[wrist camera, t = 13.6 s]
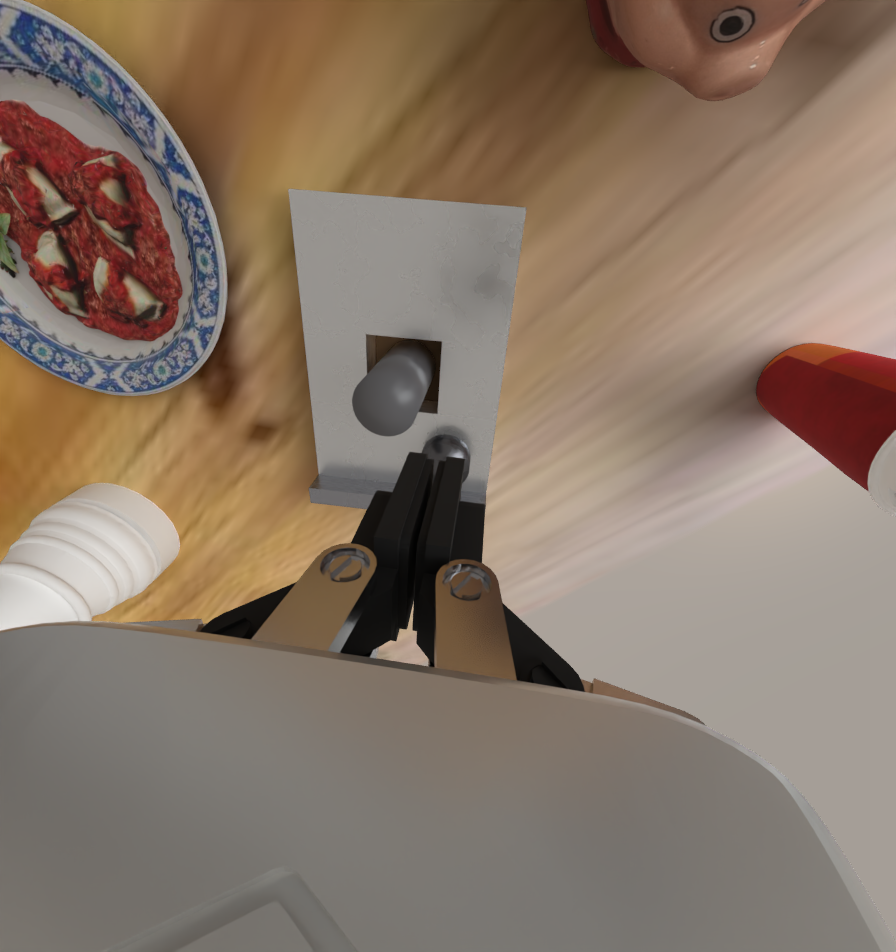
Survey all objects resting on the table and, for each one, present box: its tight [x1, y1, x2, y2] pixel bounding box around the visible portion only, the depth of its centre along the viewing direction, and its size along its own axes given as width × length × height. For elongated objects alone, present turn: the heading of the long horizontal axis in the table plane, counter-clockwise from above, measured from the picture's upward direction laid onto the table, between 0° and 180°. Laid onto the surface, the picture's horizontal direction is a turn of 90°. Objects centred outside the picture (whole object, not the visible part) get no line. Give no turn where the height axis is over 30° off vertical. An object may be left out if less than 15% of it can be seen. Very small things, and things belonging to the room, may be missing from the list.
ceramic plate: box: [0, 0, 227, 396], centre depth 32 cm, size 26×26×3 cm
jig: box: [288, 189, 526, 509], centre depth 33 cm, size 24×16×5 cm, turn 176°
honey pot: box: [0, 483, 180, 631], centre depth 41 cm, size 13×13×18 cm
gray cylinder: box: [352, 340, 436, 436], centre depth 31 cm, size 4×4×10 cm
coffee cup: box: [756, 343, 896, 516], centre depth 27 cm, size 8×8×15 cm
